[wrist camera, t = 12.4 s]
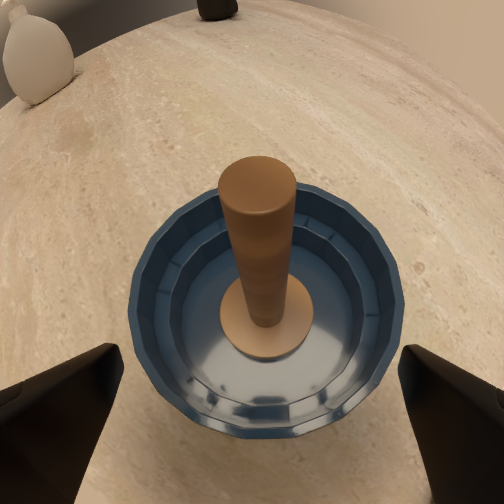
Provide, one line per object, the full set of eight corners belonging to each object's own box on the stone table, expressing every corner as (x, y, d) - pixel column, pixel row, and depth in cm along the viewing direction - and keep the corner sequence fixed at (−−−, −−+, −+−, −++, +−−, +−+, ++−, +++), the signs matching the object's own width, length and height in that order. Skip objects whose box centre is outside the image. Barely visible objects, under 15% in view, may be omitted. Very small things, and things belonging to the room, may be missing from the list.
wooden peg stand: (278, 378, 18) (292, 334, 6) (205, 327, 20) (113, 211, 8) (326, 305, 20) (391, 164, 8) (256, 262, 22) (236, 101, 10)
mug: (192, 20, 54) (188, -4, 48) (222, 11, 57) (219, -12, 51) (222, 25, 50) (218, -2, 43) (253, 16, 52) (251, -9, 46)
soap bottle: (78, 69, 48) (43, -24, 24) (84, 76, 45) (45, -29, 21) (25, 105, 44) (-20, 16, 20) (25, 117, 41) (-26, 17, 17)
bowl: (295, 466, 16) (304, 492, 10) (126, 340, 20) (83, 318, 15) (402, 289, 21) (436, 252, 16) (243, 200, 26) (236, 149, 20)
